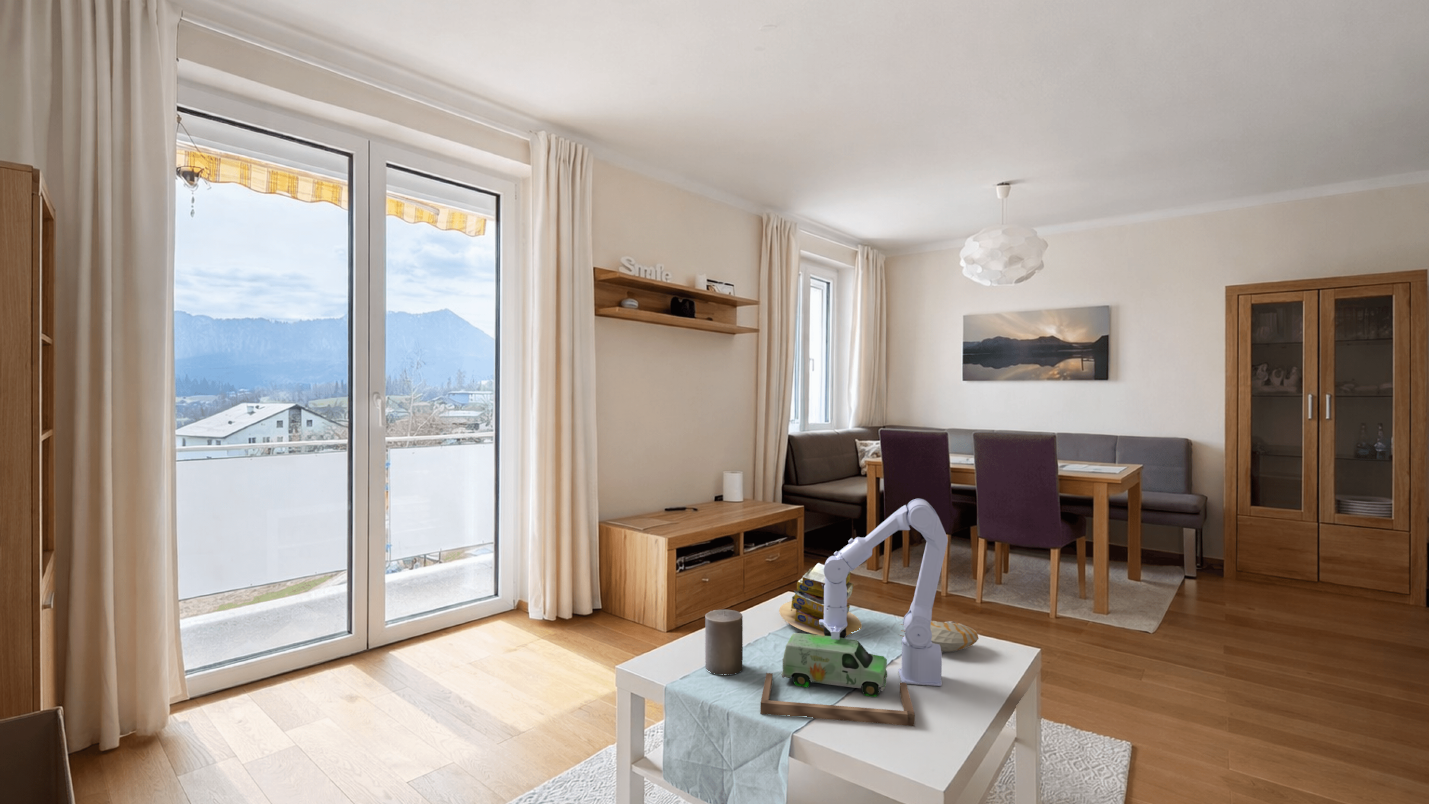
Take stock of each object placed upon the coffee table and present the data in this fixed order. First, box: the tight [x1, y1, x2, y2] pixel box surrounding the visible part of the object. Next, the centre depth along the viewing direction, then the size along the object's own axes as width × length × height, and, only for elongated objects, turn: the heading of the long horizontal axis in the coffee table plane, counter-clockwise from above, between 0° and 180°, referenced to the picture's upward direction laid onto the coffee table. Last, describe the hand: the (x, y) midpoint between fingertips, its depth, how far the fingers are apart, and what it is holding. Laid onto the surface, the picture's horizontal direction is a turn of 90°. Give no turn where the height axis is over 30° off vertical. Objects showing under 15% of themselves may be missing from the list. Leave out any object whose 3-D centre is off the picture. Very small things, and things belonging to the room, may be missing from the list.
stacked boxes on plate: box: [778, 562, 863, 637], centre depth 212 cm, size 25×25×17 cm
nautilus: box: [898, 620, 979, 653], centre depth 194 cm, size 8×22×15 cm
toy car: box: [780, 632, 888, 698], centre depth 171 cm, size 11×25×10 cm, turn 72°
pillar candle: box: [704, 609, 744, 676], centre depth 179 cm, size 10×10×15 cm
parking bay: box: [759, 672, 916, 727], centre depth 160 cm, size 33×16×2 cm, turn 81°
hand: (834, 657), depth 178 cm, fingers closed
